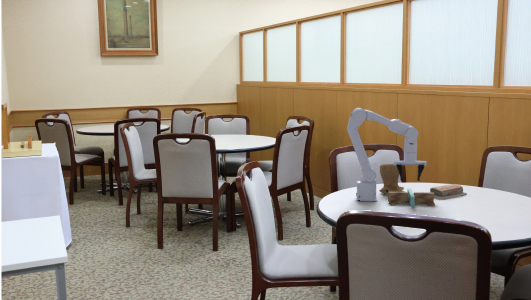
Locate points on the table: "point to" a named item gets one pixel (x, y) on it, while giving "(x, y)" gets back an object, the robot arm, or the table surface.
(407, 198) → the notched board
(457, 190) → the packaged product
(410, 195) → the slotted panel
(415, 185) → the table surface
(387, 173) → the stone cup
